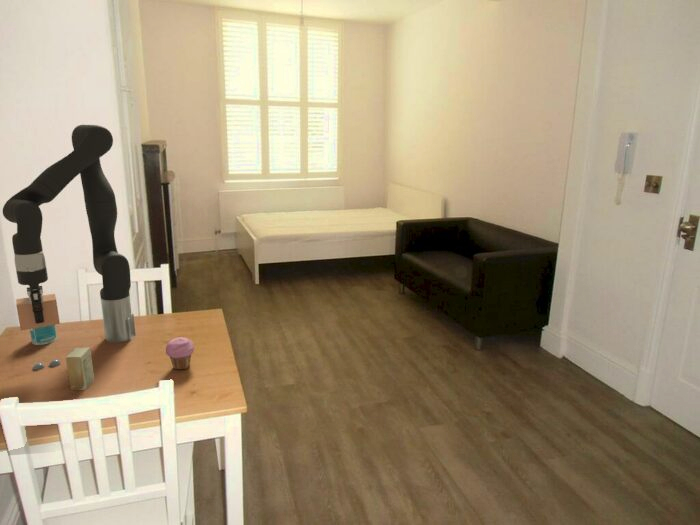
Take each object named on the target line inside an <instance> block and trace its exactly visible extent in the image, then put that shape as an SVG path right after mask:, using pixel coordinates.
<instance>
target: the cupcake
mask: <svg viewBox="0 0 700 525" xmlns="http://www.w3.org/2000/svg"><path fill="white" fill-rule="evenodd" d="M194 350H195V344H194V342H193V341H192V340H191V339H189V338H187V337H184V336H183V337H182V336H181V337H179V336H178V337H176V338H173V339H172V338H171V340H169V341H168V342H167V344H166V346H165V354H166V355H167V357H169V359H170V361H171V365H172V367H173V369H175V370H186V369H188V368H189V366H190V363H191V359H192V358H191V357H192V354H193V353H194V352H195V351H194Z"/></svg>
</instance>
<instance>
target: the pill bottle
mask: <svg viewBox="0 0 700 525" xmlns="http://www.w3.org/2000/svg"><path fill="white" fill-rule="evenodd" d="M29 334H30V337H31V338H30V339H31V343H32V345H36V346H40V345H46V344H51V343H53V342H55V341H57V331H56V325H50V326H45V327H39V328H33V329H29Z"/></svg>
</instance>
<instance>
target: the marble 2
mask: <svg viewBox="0 0 700 525" xmlns="http://www.w3.org/2000/svg"><path fill="white" fill-rule="evenodd" d="M60 365H61V360H59V359H52V360H51V361H50V362H49V367H51V368H53V367H54V368H55V367H58V366H60Z"/></svg>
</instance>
